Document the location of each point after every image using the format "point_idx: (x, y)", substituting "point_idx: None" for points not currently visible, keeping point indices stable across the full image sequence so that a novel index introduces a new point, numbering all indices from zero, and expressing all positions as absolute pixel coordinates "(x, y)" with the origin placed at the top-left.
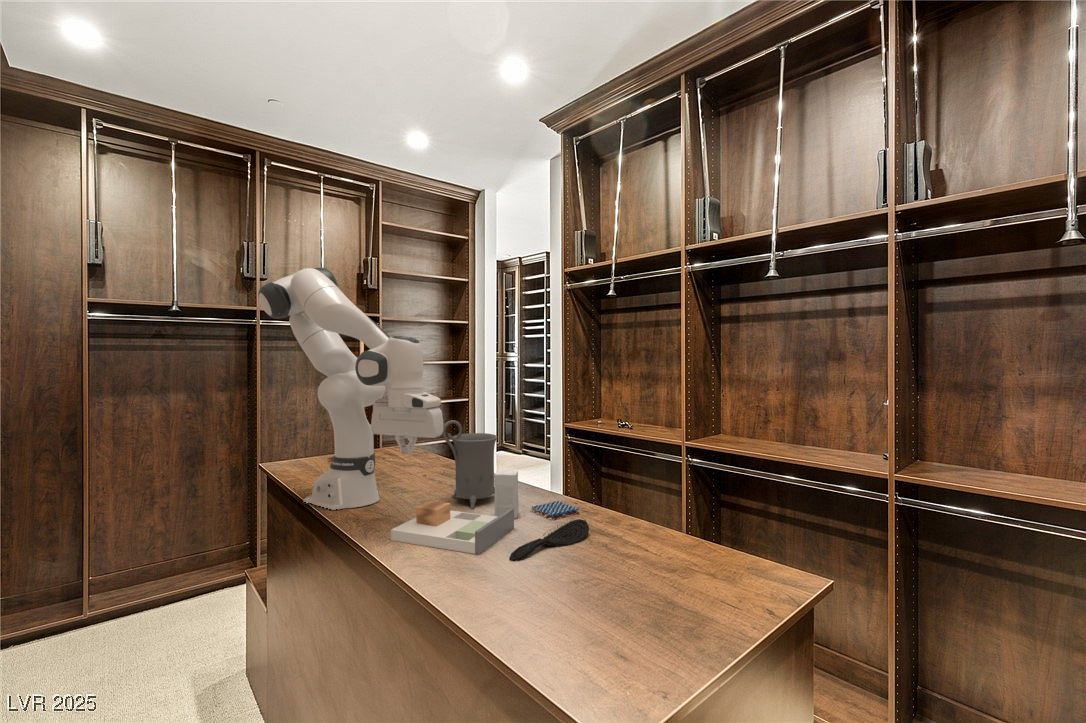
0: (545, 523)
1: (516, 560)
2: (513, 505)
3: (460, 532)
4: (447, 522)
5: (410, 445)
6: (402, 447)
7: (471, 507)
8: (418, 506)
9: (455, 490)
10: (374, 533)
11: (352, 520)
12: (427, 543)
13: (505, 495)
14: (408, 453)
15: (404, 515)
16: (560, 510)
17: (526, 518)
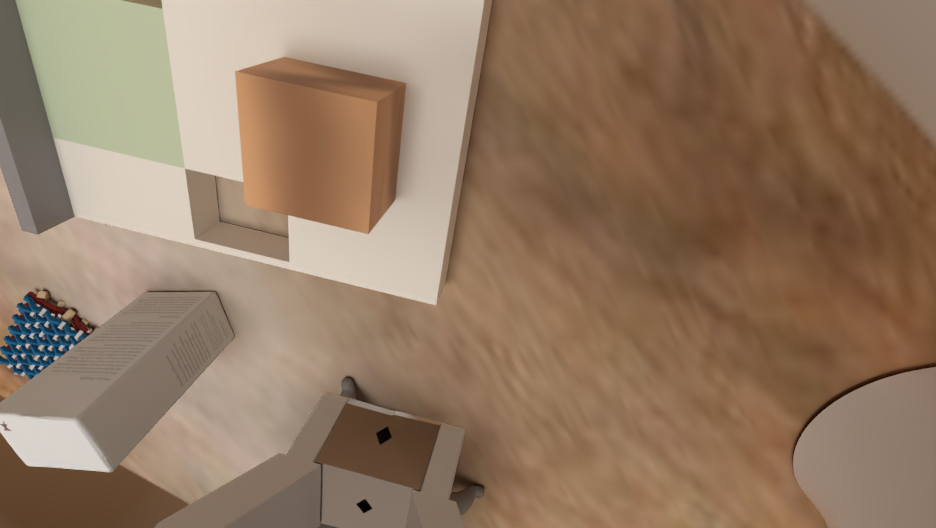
0: (38, 259)
1: None
2: (115, 320)
3: (142, 4)
4: None
5: (250, 474)
6: (404, 477)
7: (348, 381)
8: (374, 123)
9: (460, 504)
10: (639, 34)
11: (848, 209)
12: None
13: (111, 346)
14: (338, 395)
15: (590, 297)
16: (30, 341)
17: (122, 300)
